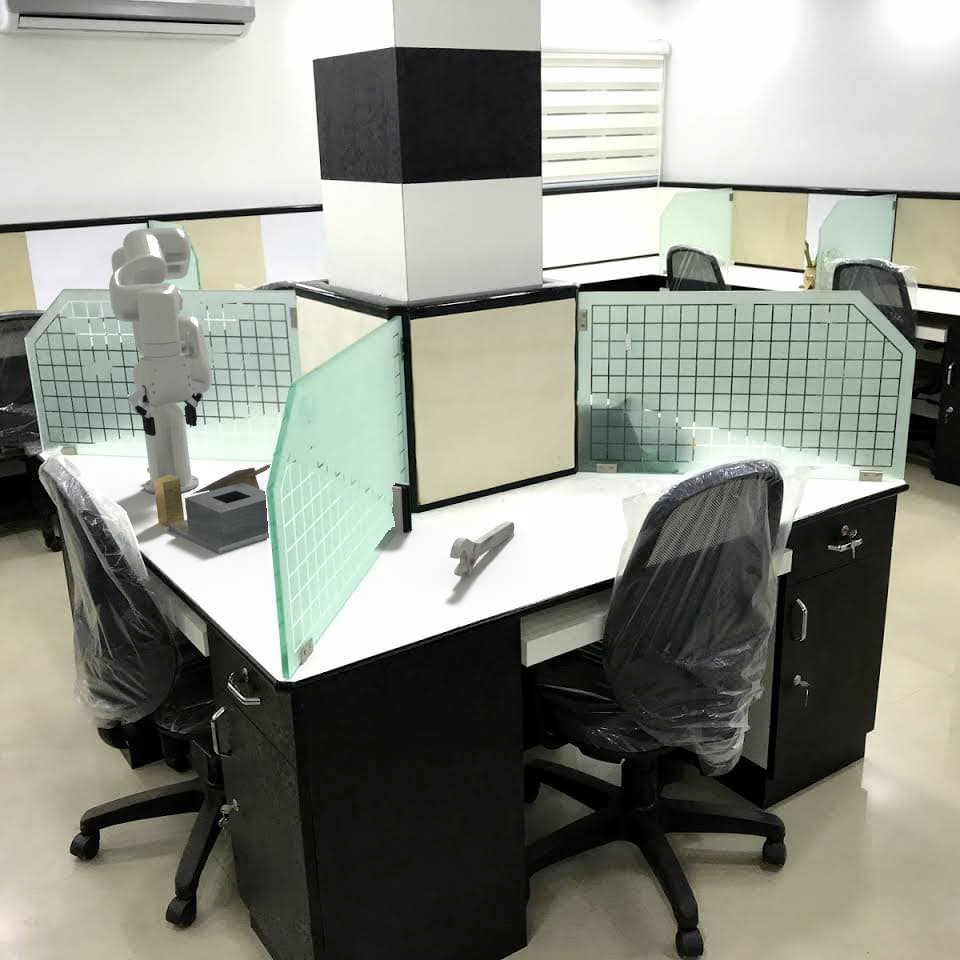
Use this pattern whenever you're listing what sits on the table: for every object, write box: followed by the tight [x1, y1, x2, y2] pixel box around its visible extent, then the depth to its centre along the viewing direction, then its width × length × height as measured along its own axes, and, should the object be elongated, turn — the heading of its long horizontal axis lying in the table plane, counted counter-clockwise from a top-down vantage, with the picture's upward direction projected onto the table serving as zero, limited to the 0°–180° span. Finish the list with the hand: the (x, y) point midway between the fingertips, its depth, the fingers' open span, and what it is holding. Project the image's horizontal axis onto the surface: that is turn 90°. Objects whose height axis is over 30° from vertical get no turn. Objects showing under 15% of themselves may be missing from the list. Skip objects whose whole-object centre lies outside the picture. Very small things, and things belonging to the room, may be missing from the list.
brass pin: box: [153, 475, 185, 528], centre depth 216 cm, size 4×4×10 cm
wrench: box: [449, 520, 515, 577], centre depth 194 cm, size 8×2×30 cm
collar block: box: [167, 483, 269, 555], centre depth 212 cm, size 20×20×7 cm
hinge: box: [388, 481, 413, 534], centre depth 211 cm, size 14×5×10 cm, turn 74°
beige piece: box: [190, 463, 272, 496], centre depth 232 cm, size 16×9×15 cm
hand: (171, 429), depth 211 cm, fingers open, 9 cm apart
